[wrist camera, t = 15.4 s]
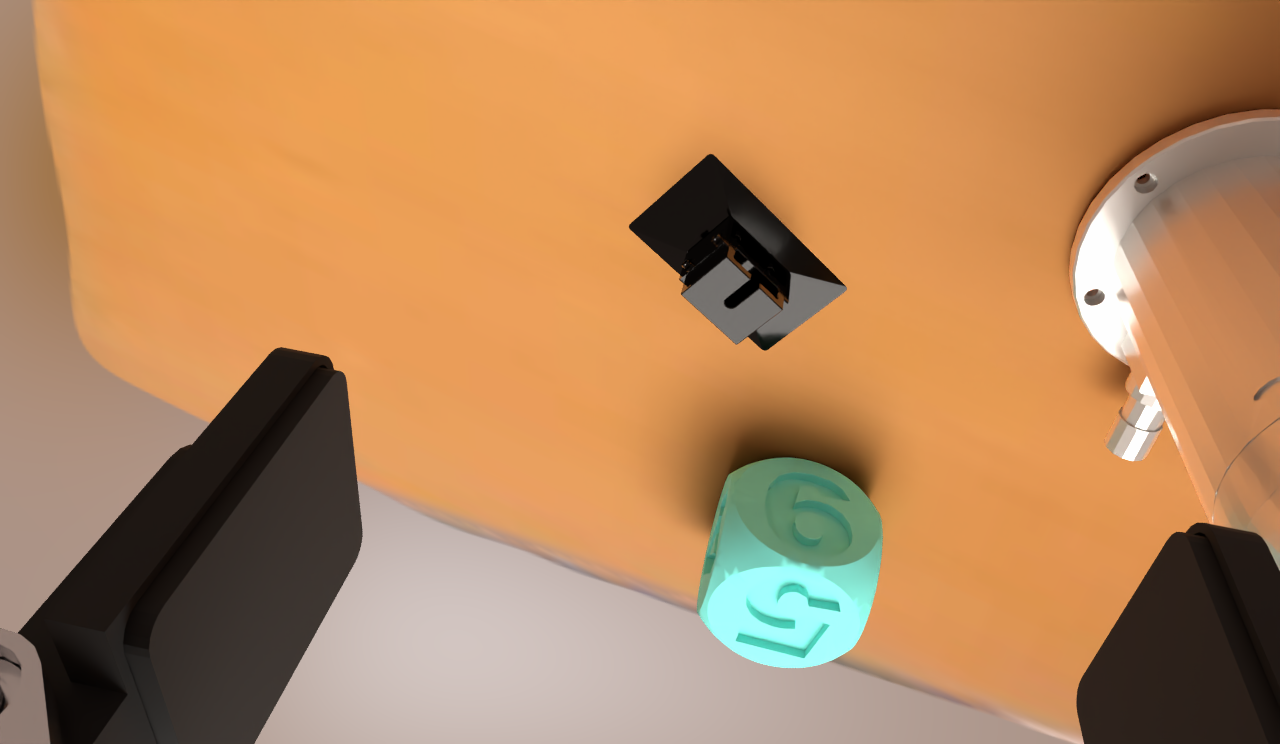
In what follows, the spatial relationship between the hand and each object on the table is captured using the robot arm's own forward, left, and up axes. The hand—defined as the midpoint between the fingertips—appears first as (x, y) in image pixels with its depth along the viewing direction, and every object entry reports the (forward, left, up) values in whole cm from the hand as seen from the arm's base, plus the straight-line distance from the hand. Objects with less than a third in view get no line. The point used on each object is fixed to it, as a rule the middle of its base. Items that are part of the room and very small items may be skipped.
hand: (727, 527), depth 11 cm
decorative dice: (-30, -5, -33) cm, 45 cm away
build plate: (-15, 0, -33) cm, 36 cm away
